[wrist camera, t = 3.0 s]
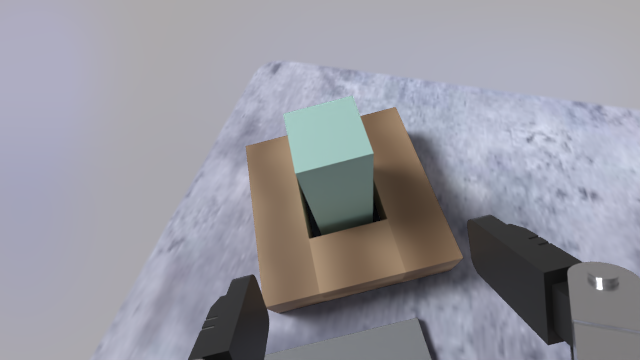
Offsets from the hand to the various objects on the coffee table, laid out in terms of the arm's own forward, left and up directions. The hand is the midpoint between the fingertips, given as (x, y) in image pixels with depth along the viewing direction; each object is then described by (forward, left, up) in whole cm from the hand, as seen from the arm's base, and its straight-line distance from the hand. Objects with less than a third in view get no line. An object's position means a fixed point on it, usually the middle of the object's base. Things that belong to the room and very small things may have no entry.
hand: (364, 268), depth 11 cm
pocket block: (0, -8, -12) cm, 15 cm away
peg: (0, -8, -12) cm, 15 cm away
